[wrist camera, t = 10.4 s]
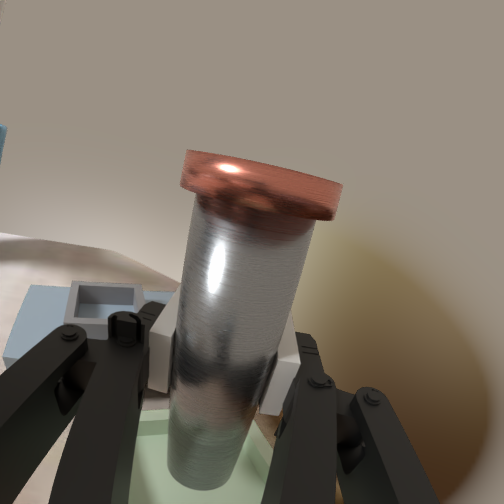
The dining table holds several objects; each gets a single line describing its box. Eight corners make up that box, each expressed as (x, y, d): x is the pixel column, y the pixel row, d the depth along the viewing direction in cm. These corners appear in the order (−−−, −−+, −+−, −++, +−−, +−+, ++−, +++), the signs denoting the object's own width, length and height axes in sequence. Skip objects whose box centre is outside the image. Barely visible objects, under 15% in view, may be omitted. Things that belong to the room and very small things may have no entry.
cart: (40, 310, 28) (35, 257, 26) (174, 315, 36) (181, 266, 34) (18, 400, 15) (-4, 335, 13) (211, 399, 24) (224, 340, 22)
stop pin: (149, 438, 13) (173, 148, 9) (222, 428, 15) (287, 171, 11) (171, 505, 9) (217, 153, 5) (255, 486, 12) (375, 194, 7)
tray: (93, 433, 16) (87, 411, 15) (234, 421, 22) (241, 399, 21) (128, 574, 6) (121, 570, 5) (305, 531, 12) (323, 518, 11)
